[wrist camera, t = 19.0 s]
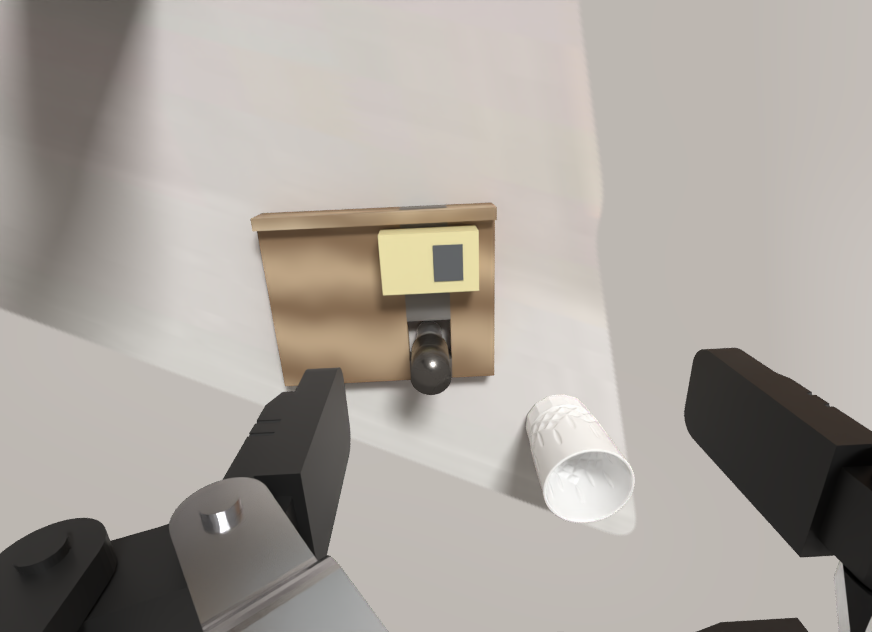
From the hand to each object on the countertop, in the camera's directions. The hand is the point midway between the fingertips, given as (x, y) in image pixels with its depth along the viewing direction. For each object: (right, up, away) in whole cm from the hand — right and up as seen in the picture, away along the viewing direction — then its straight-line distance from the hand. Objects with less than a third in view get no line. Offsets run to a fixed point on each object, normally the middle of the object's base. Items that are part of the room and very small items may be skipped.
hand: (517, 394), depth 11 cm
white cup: (+11, -9, +39) cm, 41 cm away
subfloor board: (-7, +4, +33) cm, 34 cm away
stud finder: (-2, +7, +29) cm, 30 cm away
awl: (-3, 0, +34) cm, 34 cm away
